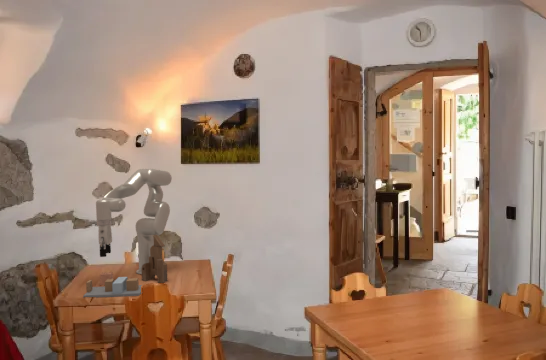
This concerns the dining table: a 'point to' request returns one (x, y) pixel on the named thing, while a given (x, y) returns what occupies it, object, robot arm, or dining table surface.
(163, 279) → the wooden toy
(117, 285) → the blue-gray rectangular block
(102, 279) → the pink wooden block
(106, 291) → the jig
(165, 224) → the robot arm
